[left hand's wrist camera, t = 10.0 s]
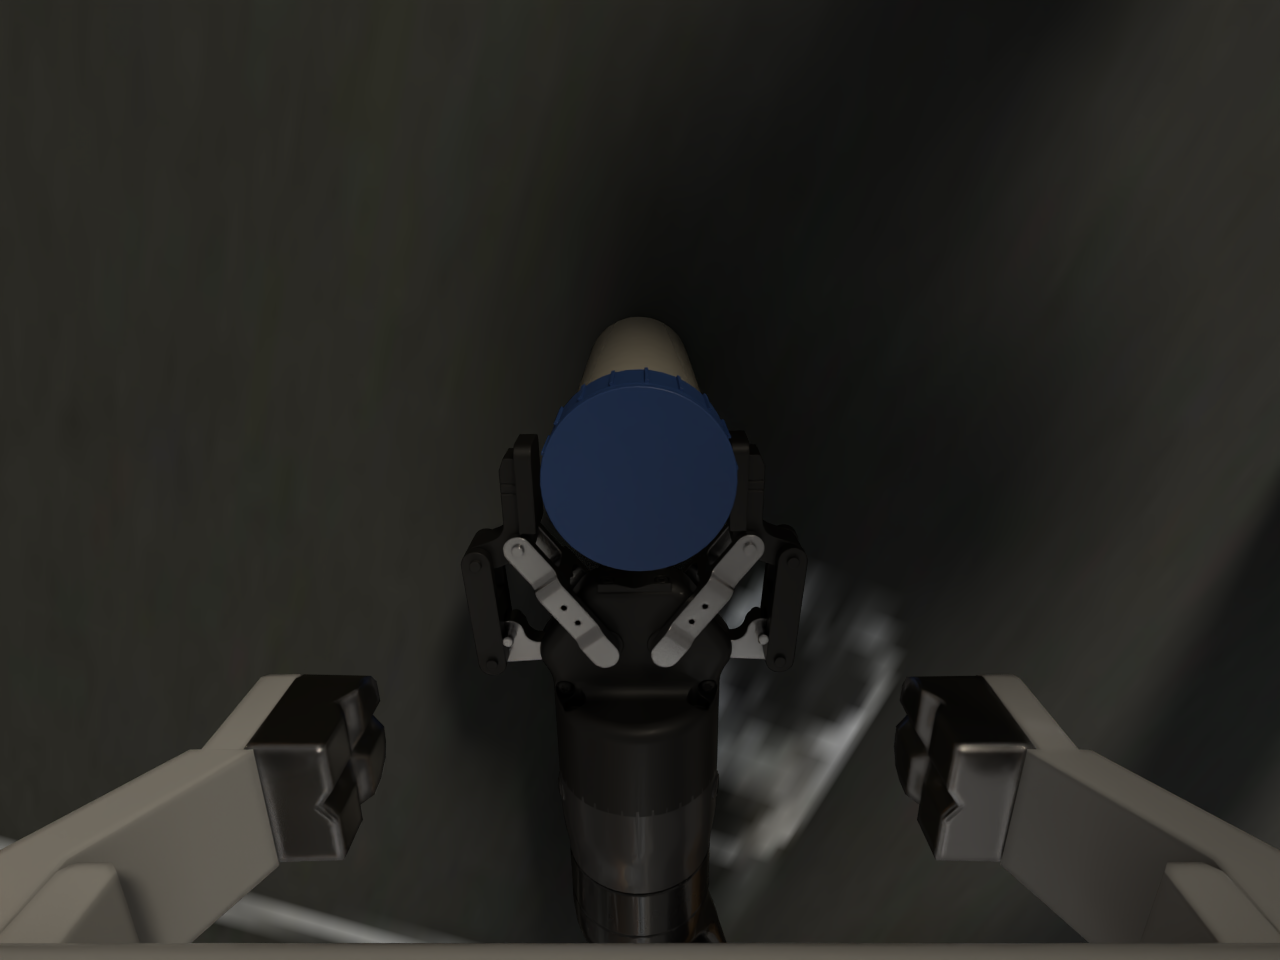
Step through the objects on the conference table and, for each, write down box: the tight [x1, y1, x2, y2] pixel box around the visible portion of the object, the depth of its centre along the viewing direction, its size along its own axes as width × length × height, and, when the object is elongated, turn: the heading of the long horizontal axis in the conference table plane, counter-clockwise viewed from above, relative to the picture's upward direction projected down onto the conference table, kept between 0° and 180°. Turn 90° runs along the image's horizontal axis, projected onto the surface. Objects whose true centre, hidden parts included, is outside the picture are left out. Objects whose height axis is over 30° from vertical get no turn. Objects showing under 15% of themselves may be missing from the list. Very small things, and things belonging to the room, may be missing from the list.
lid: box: [540, 367, 738, 571], centre depth 21 cm, size 5×6×2 cm
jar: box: [577, 317, 701, 393], centre depth 27 cm, size 5×5×15 cm
